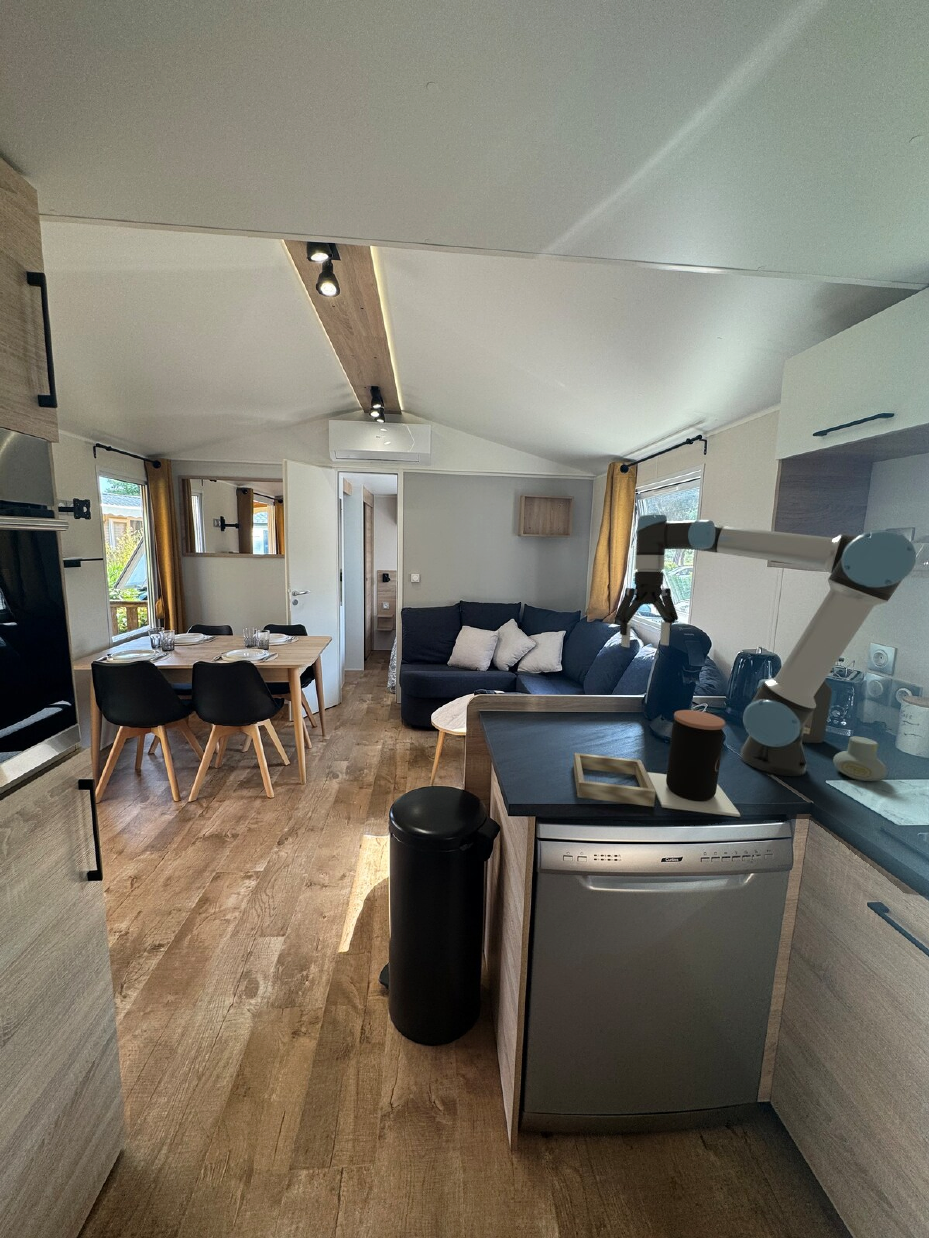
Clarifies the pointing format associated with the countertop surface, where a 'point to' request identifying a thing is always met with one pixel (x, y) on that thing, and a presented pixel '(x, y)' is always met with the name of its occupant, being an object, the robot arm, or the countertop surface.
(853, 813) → the countertop surface
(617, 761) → the birch corral
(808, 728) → the liquor
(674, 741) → the coffee jar
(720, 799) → the cream mat
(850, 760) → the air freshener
